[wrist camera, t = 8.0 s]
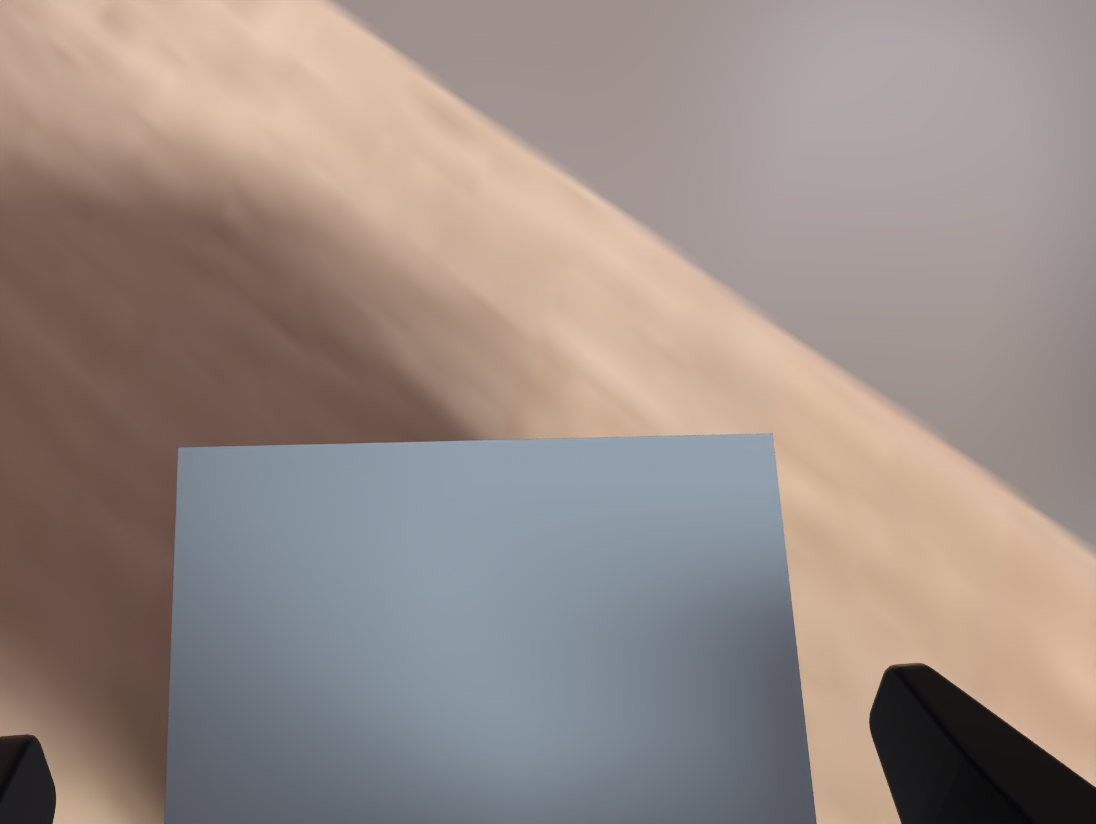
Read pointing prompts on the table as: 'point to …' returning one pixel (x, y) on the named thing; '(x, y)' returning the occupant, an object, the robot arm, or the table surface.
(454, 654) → the grey rectangular block
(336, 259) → the table surface
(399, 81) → the table surface
